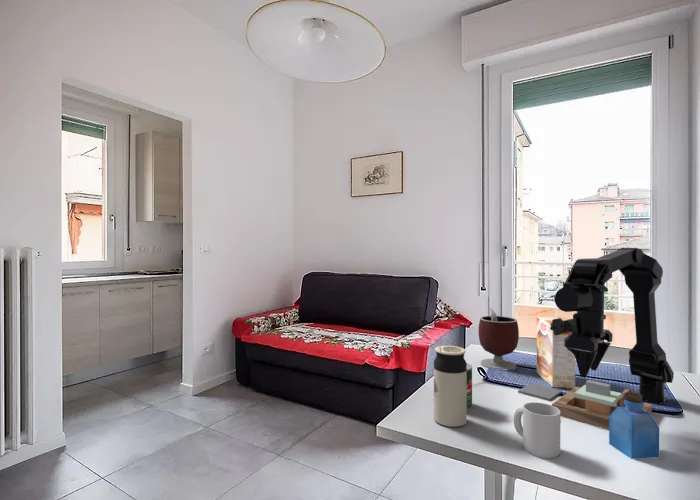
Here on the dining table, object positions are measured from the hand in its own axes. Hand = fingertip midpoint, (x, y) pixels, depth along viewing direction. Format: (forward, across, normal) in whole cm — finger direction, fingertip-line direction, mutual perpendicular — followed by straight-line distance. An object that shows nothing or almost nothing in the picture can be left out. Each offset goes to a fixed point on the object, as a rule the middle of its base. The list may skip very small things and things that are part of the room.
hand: (588, 373), depth 97 cm
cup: (+14, +20, -5) cm, 25 cm away
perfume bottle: (+13, +7, +10) cm, 18 cm away
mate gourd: (+12, -32, -37) cm, 51 cm away
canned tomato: (+13, +12, -29) cm, 34 cm away
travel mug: (+14, +22, -25) cm, 36 cm away
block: (+12, -6, +1) cm, 14 cm away
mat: (+12, -14, -16) cm, 24 cm away
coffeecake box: (+12, -29, -16) cm, 35 cm away
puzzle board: (+12, -10, +1) cm, 16 cm away
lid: (+7, -6, +1) cm, 9 cm away
